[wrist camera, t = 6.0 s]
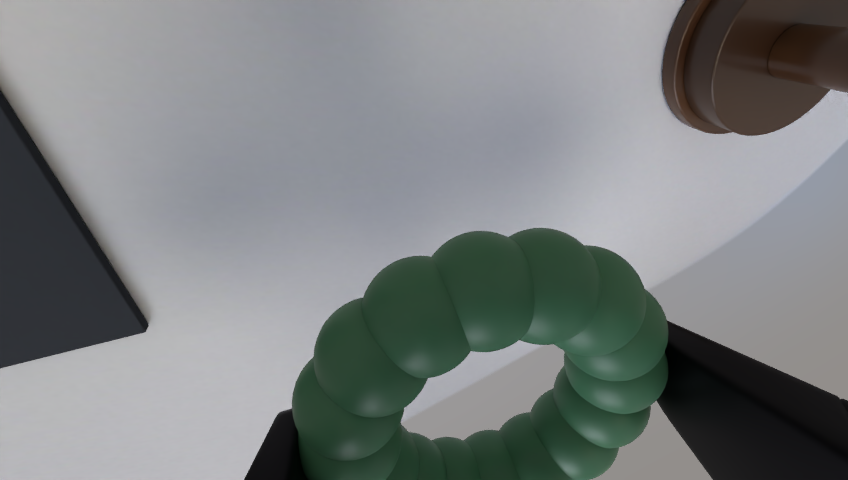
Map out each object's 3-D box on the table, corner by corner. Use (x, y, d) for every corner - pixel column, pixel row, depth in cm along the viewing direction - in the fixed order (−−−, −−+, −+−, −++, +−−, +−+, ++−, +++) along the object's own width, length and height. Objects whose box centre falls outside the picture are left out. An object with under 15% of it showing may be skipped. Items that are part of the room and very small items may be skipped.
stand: (787, 112, 22) (931, 152, 17) (649, 144, 21) (759, 196, 16) (845, -74, 18) (1058, -94, 13) (677, -45, 17) (836, -56, 12)
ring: (610, 421, 12) (658, 492, 11) (338, 504, 11) (344, 597, 10) (653, 168, 8) (743, 217, 7) (235, 261, 7) (215, 347, 6)
